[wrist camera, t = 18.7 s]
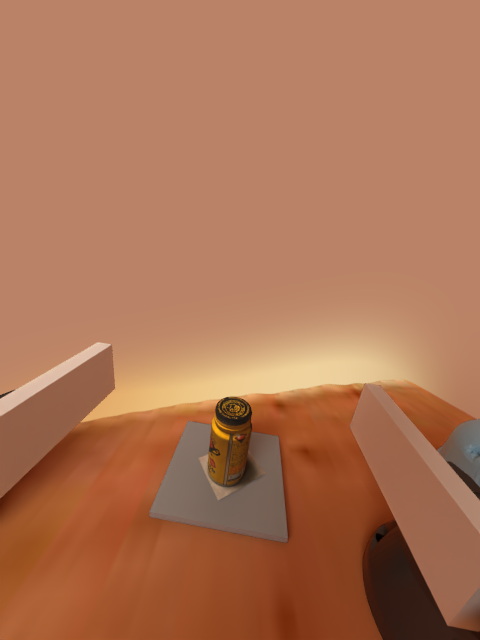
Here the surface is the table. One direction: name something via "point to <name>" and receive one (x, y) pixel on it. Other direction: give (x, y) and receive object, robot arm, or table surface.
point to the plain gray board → (234, 509)
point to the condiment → (230, 448)
